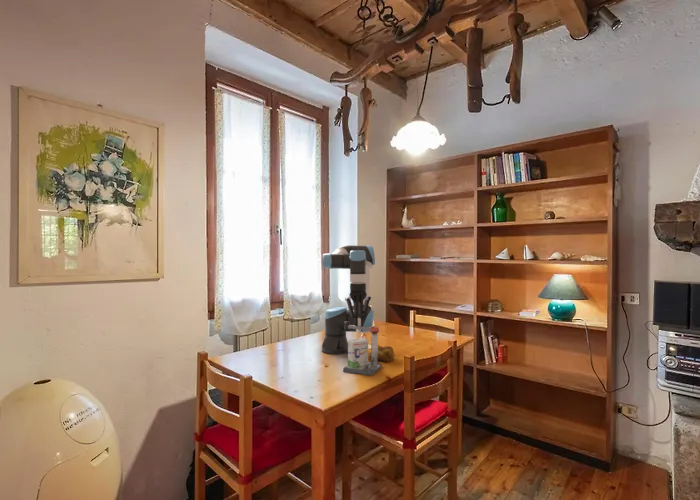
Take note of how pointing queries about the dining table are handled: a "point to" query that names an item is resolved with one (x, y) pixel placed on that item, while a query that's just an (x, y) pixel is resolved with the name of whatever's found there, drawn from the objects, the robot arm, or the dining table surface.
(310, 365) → the dining table surface
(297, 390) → the dining table surface
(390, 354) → the bread roll
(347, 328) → the lever
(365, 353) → the ink box
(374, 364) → the stand
